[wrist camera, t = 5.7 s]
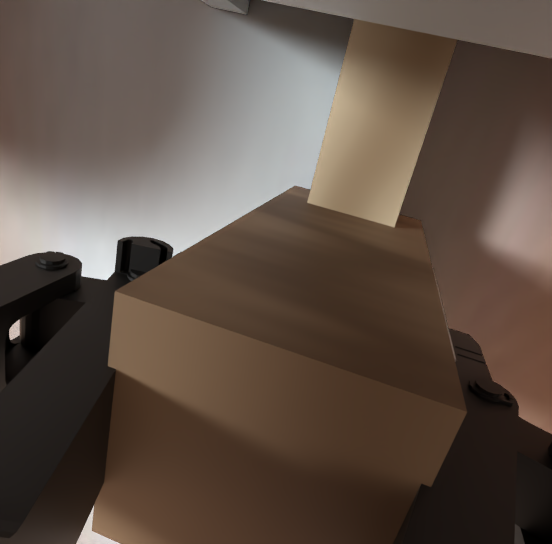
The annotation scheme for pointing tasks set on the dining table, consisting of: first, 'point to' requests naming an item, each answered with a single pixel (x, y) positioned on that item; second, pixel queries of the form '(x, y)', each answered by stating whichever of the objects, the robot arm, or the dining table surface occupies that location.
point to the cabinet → (443, 18)
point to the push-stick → (294, 343)
